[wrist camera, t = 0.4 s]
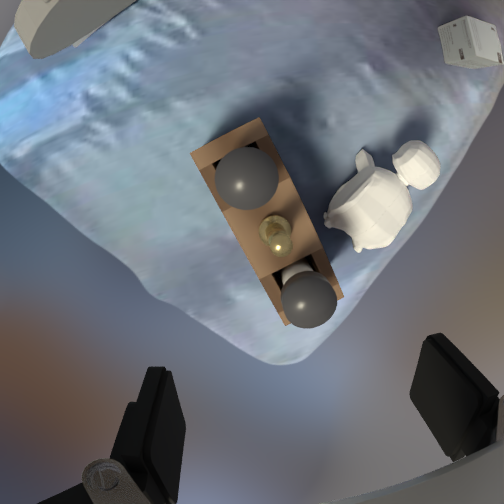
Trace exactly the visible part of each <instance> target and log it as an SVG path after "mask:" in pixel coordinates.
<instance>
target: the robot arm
mask: <svg viewBox="0 0 504 504" xmlns="http://www.w3.org/2000/svg"><path fill="white" fill-rule="evenodd" d="M498 394H499V391H498V390H497V389H496V388H495V387H494V386H493V385H492V384H491V383H490V382H489V381H488V380H487V378H486V377H485V376H484V375H483V374H482V373H481V372H480V371H479V370H478V369H477V368H476V367H475V366H474V365H473V364H472V363H471V362H470V361H469V360H468V359H467V358H466V357H465V355H464V354H463V353H461V351H459V349H458V348H457V347H456V346H455V345H454V344H453V343H452V342H450V340H449V339H448V338H446V336H445V335H444V334H442V333H437V334H433V335H429V336H427V338H426V340H424V341H423V344H422V348H421V352H420V357H419V361H418V364H417V368H416V372H415V375H414V379H413V382H412V386H411V389H410V398H411V400H412V402H413V404H414V405H415V407H416V408H417V410H418V411H419V413H420V414H421V416H422V418H423V419H424V421H425V422H426V424H427V426H428V427H429V429H430V430H431V432H432V434H433V435H434V437H435V438H436V440H437V442H438V443H439V445H440V446H441V448H442V450H443V451H444V453H445V455H446V456H450V458H451V459H452V461H453V462H454V463H452V464H450V465H447V466H444V467H442V468H440V469H437V470H435V471H432V472H430V473H427V474H424V475H422V476H419V477H416V478H413V479H411V480H408V481H405V482H402V483H399V484H396V485H393V486H389V487H386V488H383V489H379V490H376V491H372V492H369V493H365V494H361V495H357V496H353V497H349V498H345V499H340V500H335V501H330V502H325V503H320V504H504V395H503V396H502V397H501V398H500V399H499V398H498V397H497V396H498ZM185 432H186V424H185V420H184V417H183V413H182V409H181V406H180V402H179V399H178V395H177V391H176V387H175V384H174V380H173V376H172V372H171V371H166V368H165V367H148V369H147V372H146V375H145V378H144V381H143V384H142V387H141V390H140V393H139V396H138V399H137V402H129V403H128V405H127V408H126V411H125V413H124V416H123V419H122V422H121V425H120V428H119V431H118V434H117V437H116V440H115V443H114V446H113V449H112V452H111V455H110V458H109V459H108V458H105V459H98V460H95V461H93V462H91V463H89V464H88V465H87V466H86V467H85V468H84V471H83V473H82V483H80V484H78V485H76V486H74V487H72V488H70V489H68V490H65V491H63V492H61V493H59V494H57V495H55V496H53V497H50V498H48V499H46V500H44V501H41V502H39V503H38V504H176V503H177V500H178V490H179V481H180V472H181V464H182V455H183V446H184V439H185ZM465 455H466V457H465V458H463V457H464V456H465ZM461 458H462V459H461ZM459 459H460V460H459ZM457 460H458V461H457ZM455 461H456V462H455Z"/></svg>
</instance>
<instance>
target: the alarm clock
mask: <svg viewBox="0 0 504 504" xmlns="http://www.w3.org/2000/svg"><path fill="white" fill-rule="evenodd" d="M135 1H136V0H22V1H21V3H20V6H19V8H18V10H17V13H16V15H15V24H14V27H15V29H16V31H17V32H18V34H19V36H20V38H21V40H22V42H23V43H24V45H25V47H26V49H27V50H28V52H29V54H30V55H31V56H32V57H33V59H43V58H45V57H48V56H50V55H53V54H55V53H57V52H59V51H61V50H63V49H64V48H66V47H68V46H70V45H73V46H74V47H75V48H76V47H77V46H79V45H80V44H81V43H82V42H83V41H84V40H85V39H87V38H88V37H89V36H90V35H91V34H92V33H94V32H95V31H96V30H97V29H99V28H100V27H101V26H102V25H103V24H105V23H106V22H107V21H109V20H110V19H111V18H112V17H114V16H115V15H116V14H118V13H119V12H121V11H122V10H124V9H125V8H127V7H128V6H129V5H131V4H132V3H133V2H135Z"/></svg>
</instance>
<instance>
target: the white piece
mask: <svg viewBox="0 0 504 504" xmlns="http://www.w3.org/2000/svg"><path fill="white" fill-rule="evenodd" d="M392 158H393V165H394V167H395V169H396V170H397V173H396V174H395V173H393V172H391V171H389V170H387V169H384V168H381V167H375V164H374V161H373V158H372V156H371V155H370V154H368V153H367V152H366V151H365V150H364V149H362V150H361V151H360V152H359V153H358V154H357V155H356V161H355V163H356V166H357V170H358V173H357V174H356V175H355V176H354V177H353V178H352V179H351V180H350V181H348V182H347V183H346V184H344V185H342V186H341V187H340V188H339V190H337V192H336V194H335V195H334V196H333V198H332V201H331V202H330V203H329V207H328V211H327V212H325V213H324V216H323V217H324V219H325V222H324V225H325V226H326V227H328V228H329V229H330V228H331V227H334V228H337V229H340V230H343V231H345V232H346V233H347V234H348V235H350V236H351V237H352V244H353V248H354V250H355V251H357V252H358V253H360V252H361V251H362V248H366V249H374V248H382V247H383V248H384V247H386V246H387V245H390V244H391V242H392V241H393V240H394V238H395V237H396V235H397V234H398V232H399V231H400V229H401V227H402V226H403V225H404V224H405V223H406V221H407V218H408V217H409V215H410V213H411V212H412V208H413V205H412V200H411V197H410V194H409V191H408V189H407V187H406V186H408V185H411V186H413V187H415V188H417V189H419V190H423V189H425V188H426V187H428V186H430V185H431V184H432V183H433V182H435V180H436V179H437V178H438V176H439V174H440V162H439V159H438V157H437V156H436V154H435V153H434V152H433V150H432V149H431V148H430V147H429V146H427V145H426V144H425V143H423V142H422V141H420V140H417V141H413V140H412V141H409V142H407V143H405V144H404V145H402V146H401V147H400V149H399V150H398V151H397V152H396V153H395V154H393V155H392Z"/></svg>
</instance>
